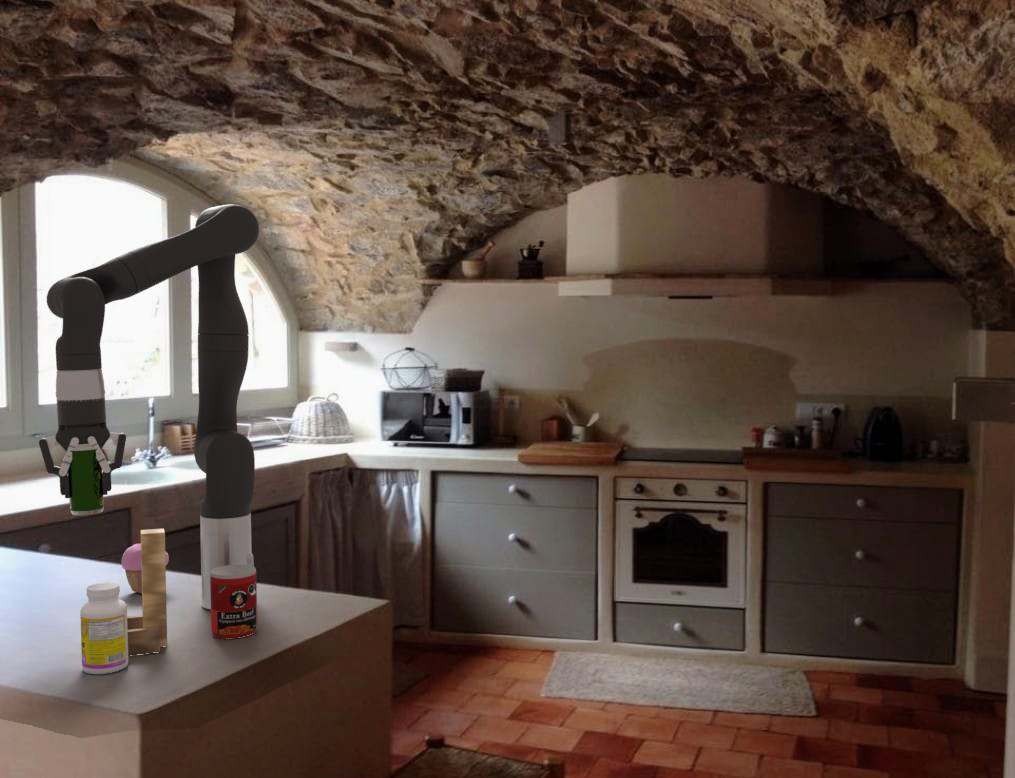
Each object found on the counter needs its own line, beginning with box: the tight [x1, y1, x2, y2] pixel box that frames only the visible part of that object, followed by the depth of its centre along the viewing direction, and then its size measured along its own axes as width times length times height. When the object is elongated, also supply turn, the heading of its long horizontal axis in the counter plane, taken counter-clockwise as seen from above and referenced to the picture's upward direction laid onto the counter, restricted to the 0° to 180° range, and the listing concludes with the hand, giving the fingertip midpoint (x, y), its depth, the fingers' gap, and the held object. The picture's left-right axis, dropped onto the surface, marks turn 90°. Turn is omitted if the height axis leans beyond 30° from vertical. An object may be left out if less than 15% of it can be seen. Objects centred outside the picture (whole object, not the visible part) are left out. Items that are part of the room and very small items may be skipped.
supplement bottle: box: [79, 582, 129, 675], centre depth 153 cm, size 7×7×13 cm
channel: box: [127, 614, 161, 657], centre depth 163 cm, size 10×9×4 cm
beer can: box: [67, 443, 105, 516], centre depth 169 cm, size 5×5×12 cm
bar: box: [140, 528, 168, 648], centre depth 164 cm, size 4×4×19 cm
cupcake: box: [121, 542, 170, 595], centre depth 198 cm, size 9×9×10 cm
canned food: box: [210, 565, 258, 640], centre depth 171 cm, size 8×8×11 cm
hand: (86, 495), depth 169 cm, fingers closed on beer can, 5 cm apart
